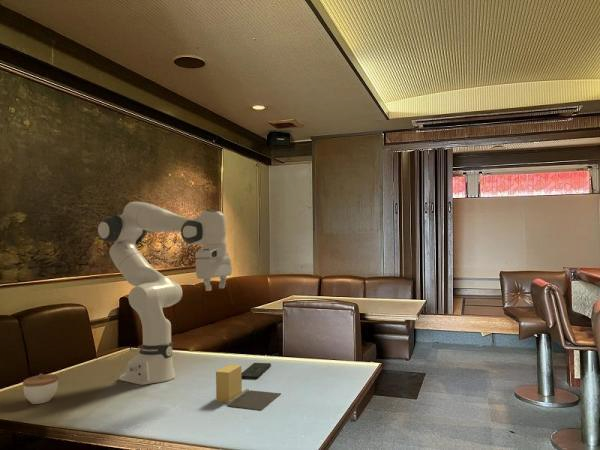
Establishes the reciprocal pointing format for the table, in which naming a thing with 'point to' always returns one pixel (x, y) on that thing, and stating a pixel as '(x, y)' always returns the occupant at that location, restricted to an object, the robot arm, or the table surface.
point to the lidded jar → (40, 388)
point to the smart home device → (255, 370)
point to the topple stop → (252, 399)
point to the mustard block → (228, 383)
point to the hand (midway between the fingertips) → (215, 289)
